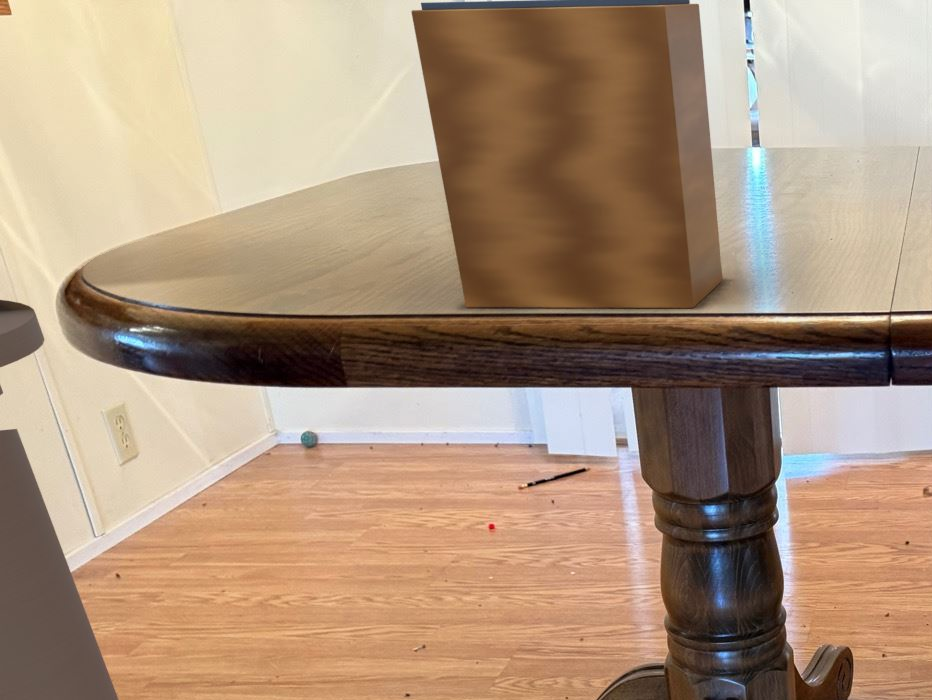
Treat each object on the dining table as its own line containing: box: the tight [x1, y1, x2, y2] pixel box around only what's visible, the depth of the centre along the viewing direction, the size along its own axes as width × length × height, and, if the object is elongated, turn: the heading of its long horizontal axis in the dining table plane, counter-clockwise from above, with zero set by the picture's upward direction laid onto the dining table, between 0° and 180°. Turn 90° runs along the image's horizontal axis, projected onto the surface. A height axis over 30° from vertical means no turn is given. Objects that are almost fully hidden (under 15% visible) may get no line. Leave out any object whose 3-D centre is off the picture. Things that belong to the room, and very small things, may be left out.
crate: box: [410, 3, 723, 309], centre depth 84 cm, size 16×9×18 cm, turn 85°
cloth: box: [420, 0, 691, 10], centre depth 79 cm, size 15×8×1 cm, turn 85°
